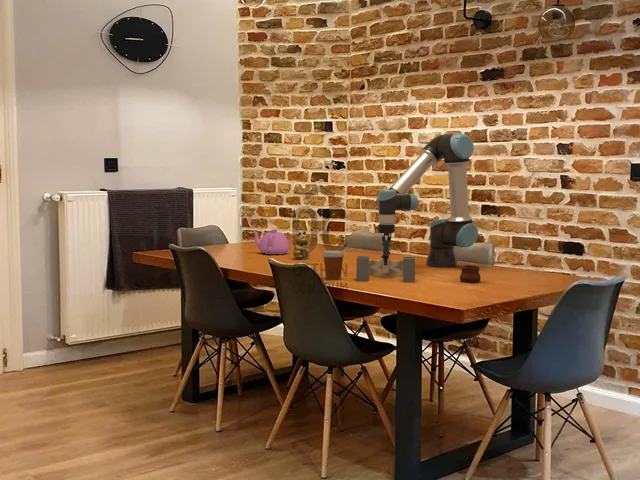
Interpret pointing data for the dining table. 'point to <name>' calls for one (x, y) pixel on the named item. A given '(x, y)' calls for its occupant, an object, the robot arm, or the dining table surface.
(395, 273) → the ash rail plank
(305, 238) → the decorative figurine
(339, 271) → the disposable coffee cup
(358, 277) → the set of support blocks
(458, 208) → the robot arm
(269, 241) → the teapot
